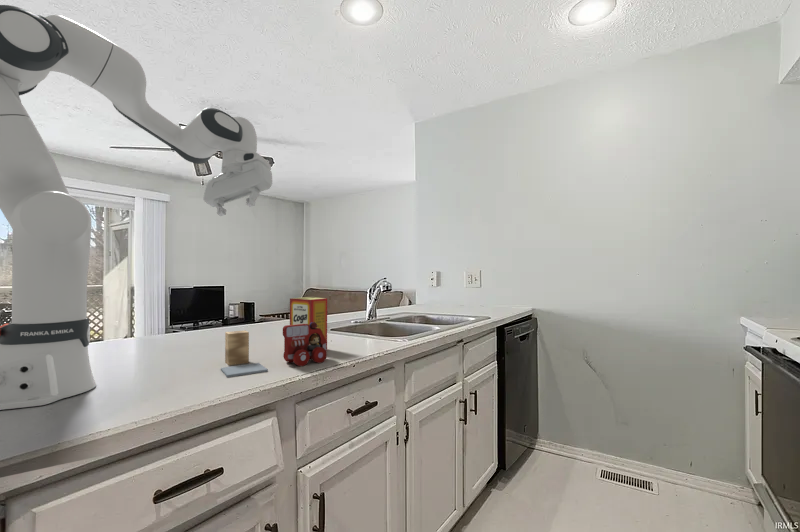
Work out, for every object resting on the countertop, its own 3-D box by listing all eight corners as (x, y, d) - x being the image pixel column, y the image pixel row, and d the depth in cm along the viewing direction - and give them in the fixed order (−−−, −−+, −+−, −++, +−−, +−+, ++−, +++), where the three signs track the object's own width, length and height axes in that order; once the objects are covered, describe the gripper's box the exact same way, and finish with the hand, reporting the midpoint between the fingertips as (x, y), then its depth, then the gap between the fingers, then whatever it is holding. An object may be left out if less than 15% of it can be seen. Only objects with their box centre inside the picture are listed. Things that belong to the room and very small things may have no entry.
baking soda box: (327, 349, 119) (327, 297, 120) (311, 352, 114) (311, 298, 114) (305, 345, 125) (305, 296, 125) (289, 349, 119) (289, 297, 119)
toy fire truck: (333, 360, 104) (333, 322, 104) (290, 368, 95) (290, 326, 96) (319, 356, 109) (319, 319, 109) (277, 364, 100) (277, 323, 101)
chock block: (228, 365, 99) (228, 334, 99) (225, 362, 102) (225, 332, 102) (248, 362, 102) (248, 332, 102) (245, 359, 105) (245, 330, 105)
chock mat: (227, 377, 87) (227, 375, 87) (220, 369, 94) (220, 367, 94) (267, 371, 93) (267, 369, 93) (258, 364, 99) (258, 362, 99)
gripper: (200, 172, 109) (195, 214, 104) (261, 150, 104) (259, 193, 98) (217, 184, 115) (212, 225, 109) (276, 164, 109) (275, 205, 104)
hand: (235, 209), depth 104 cm, fingers open, 8 cm apart
